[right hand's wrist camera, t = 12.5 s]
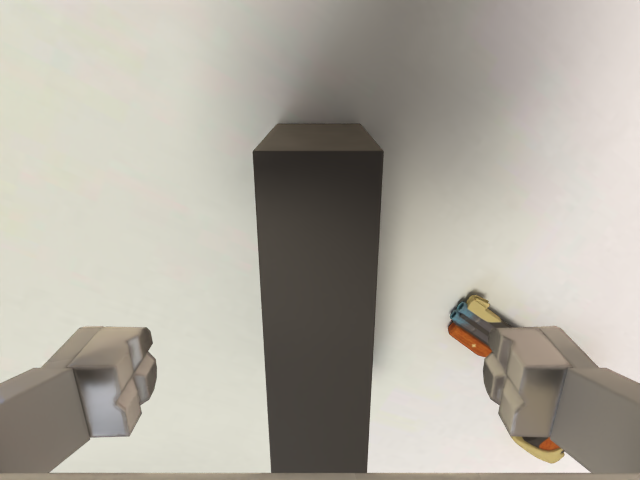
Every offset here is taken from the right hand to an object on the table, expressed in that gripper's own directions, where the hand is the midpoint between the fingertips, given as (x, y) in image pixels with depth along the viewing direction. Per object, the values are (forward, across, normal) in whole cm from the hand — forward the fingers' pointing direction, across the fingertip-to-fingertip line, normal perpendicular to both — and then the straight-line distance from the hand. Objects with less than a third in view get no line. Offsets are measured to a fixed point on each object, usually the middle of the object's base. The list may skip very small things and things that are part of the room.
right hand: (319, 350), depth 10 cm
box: (+24, 0, +8) cm, 26 cm away
